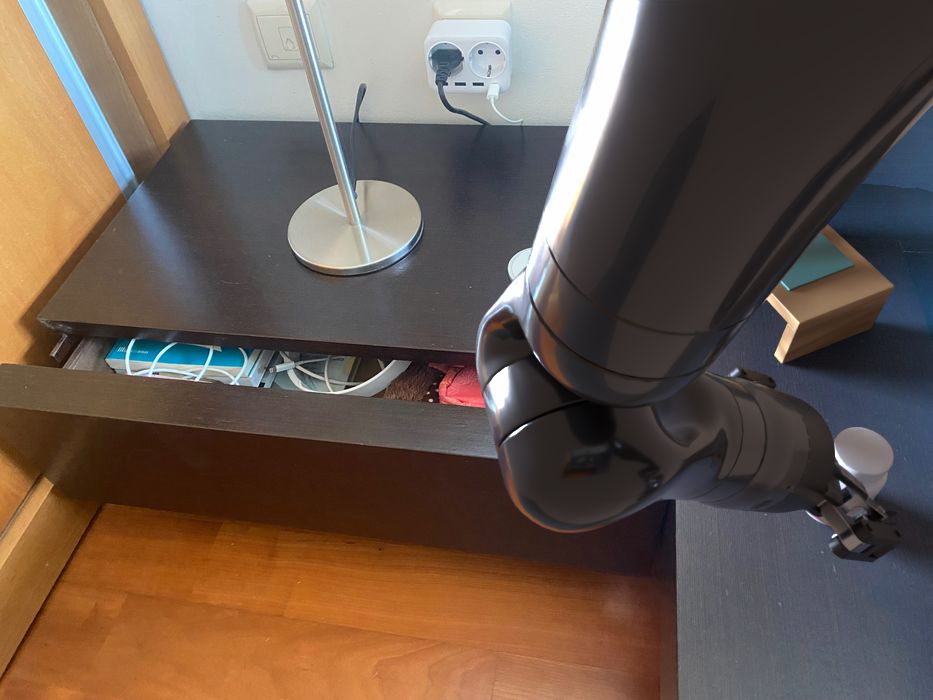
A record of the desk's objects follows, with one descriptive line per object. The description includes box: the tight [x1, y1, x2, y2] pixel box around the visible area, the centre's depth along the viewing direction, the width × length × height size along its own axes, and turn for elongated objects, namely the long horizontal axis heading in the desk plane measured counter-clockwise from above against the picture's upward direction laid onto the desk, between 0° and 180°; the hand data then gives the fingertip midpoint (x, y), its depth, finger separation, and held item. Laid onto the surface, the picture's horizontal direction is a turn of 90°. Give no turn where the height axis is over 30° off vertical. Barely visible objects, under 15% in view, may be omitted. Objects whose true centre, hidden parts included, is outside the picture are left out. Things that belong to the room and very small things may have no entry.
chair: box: [766, 223, 895, 365], centre depth 67 cm, size 16×10×14 cm, turn 21°
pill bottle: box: [805, 426, 894, 527], centre depth 55 cm, size 5×5×8 cm
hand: (841, 467), depth 53 cm, fingers open, 8 cm apart
